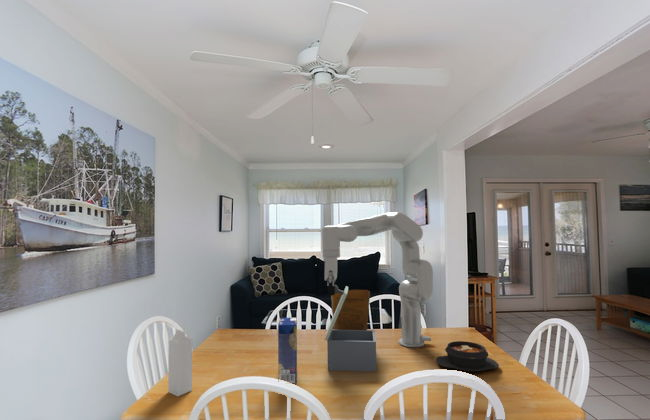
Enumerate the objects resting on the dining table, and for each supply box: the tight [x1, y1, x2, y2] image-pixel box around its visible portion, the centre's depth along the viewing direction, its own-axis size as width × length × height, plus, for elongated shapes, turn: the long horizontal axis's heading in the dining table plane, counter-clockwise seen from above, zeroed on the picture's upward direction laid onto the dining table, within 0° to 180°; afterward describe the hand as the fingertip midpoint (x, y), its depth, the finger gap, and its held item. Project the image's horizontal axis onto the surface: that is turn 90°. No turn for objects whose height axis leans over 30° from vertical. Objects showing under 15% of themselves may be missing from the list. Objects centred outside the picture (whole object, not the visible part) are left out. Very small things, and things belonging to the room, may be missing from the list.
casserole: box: [435, 340, 500, 373], centre depth 154 cm, size 25×19×8 cm
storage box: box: [326, 329, 377, 373], centre depth 159 cm, size 20×16×12 cm
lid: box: [324, 284, 349, 341], centre depth 160 cm, size 21×17×7 cm
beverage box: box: [277, 317, 298, 384], centre depth 145 cm, size 7×11×22 cm, turn 3°
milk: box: [167, 329, 193, 398], centre depth 134 cm, size 6×6×22 cm
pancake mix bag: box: [330, 289, 371, 330], centre depth 181 cm, size 7×19×28 cm, turn 80°
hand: (331, 293), depth 160 cm, fingers open, 9 cm apart
